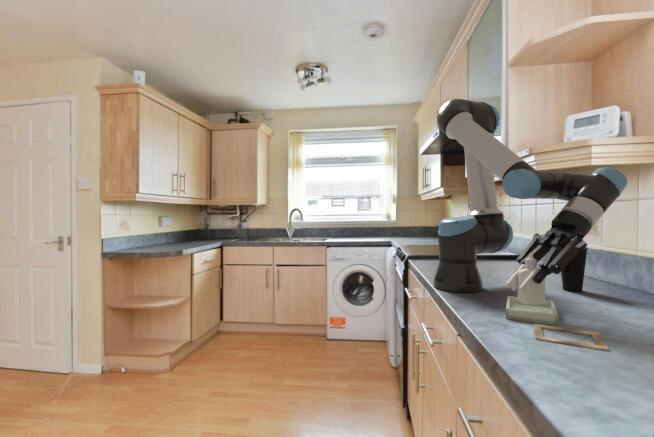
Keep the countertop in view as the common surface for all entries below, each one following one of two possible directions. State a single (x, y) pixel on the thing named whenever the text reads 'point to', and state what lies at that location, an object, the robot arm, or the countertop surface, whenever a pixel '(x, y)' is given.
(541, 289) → the eye dropper bottle
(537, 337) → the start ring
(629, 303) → the countertop surface
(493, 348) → the countertop surface
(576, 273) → the drinking cup
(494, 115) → the robot arm
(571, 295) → the countertop surface
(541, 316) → the tray
